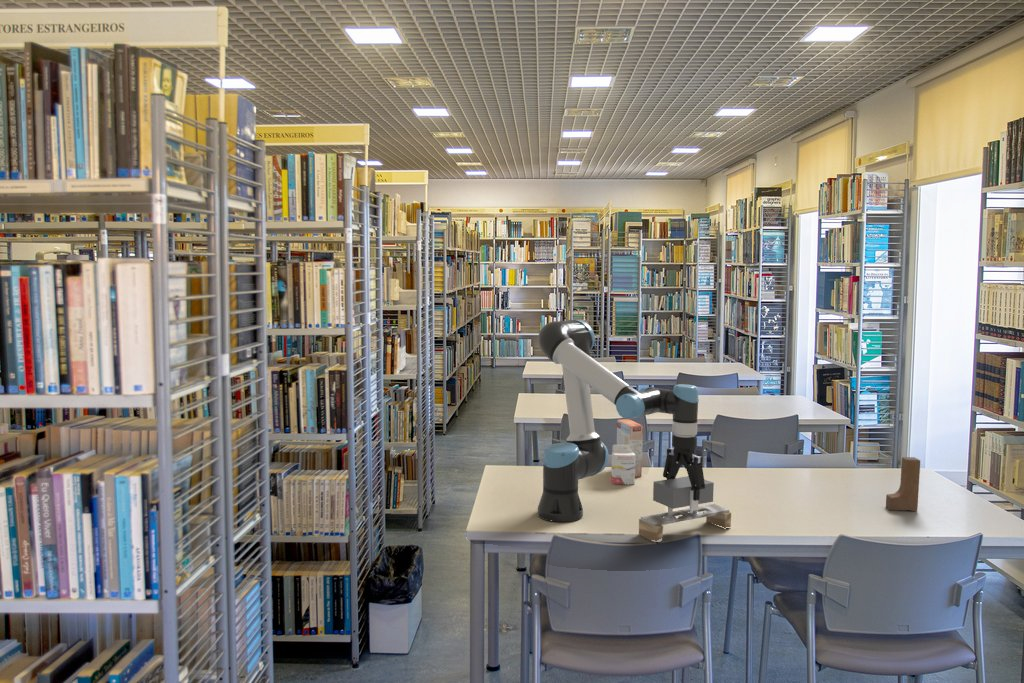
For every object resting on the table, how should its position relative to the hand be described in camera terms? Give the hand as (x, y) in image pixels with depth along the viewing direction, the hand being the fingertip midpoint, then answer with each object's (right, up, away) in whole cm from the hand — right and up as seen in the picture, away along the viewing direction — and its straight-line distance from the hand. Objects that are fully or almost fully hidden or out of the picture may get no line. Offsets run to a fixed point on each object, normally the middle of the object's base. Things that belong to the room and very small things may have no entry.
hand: (682, 505), depth 234 cm
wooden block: (+82, -7, +27) cm, 86 cm away
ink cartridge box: (-11, -4, +55) cm, 56 cm away
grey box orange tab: (0, -4, 0) cm, 4 cm away
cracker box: (-6, -2, +70) cm, 70 cm away
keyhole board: (+1, -8, +2) cm, 9 cm away
